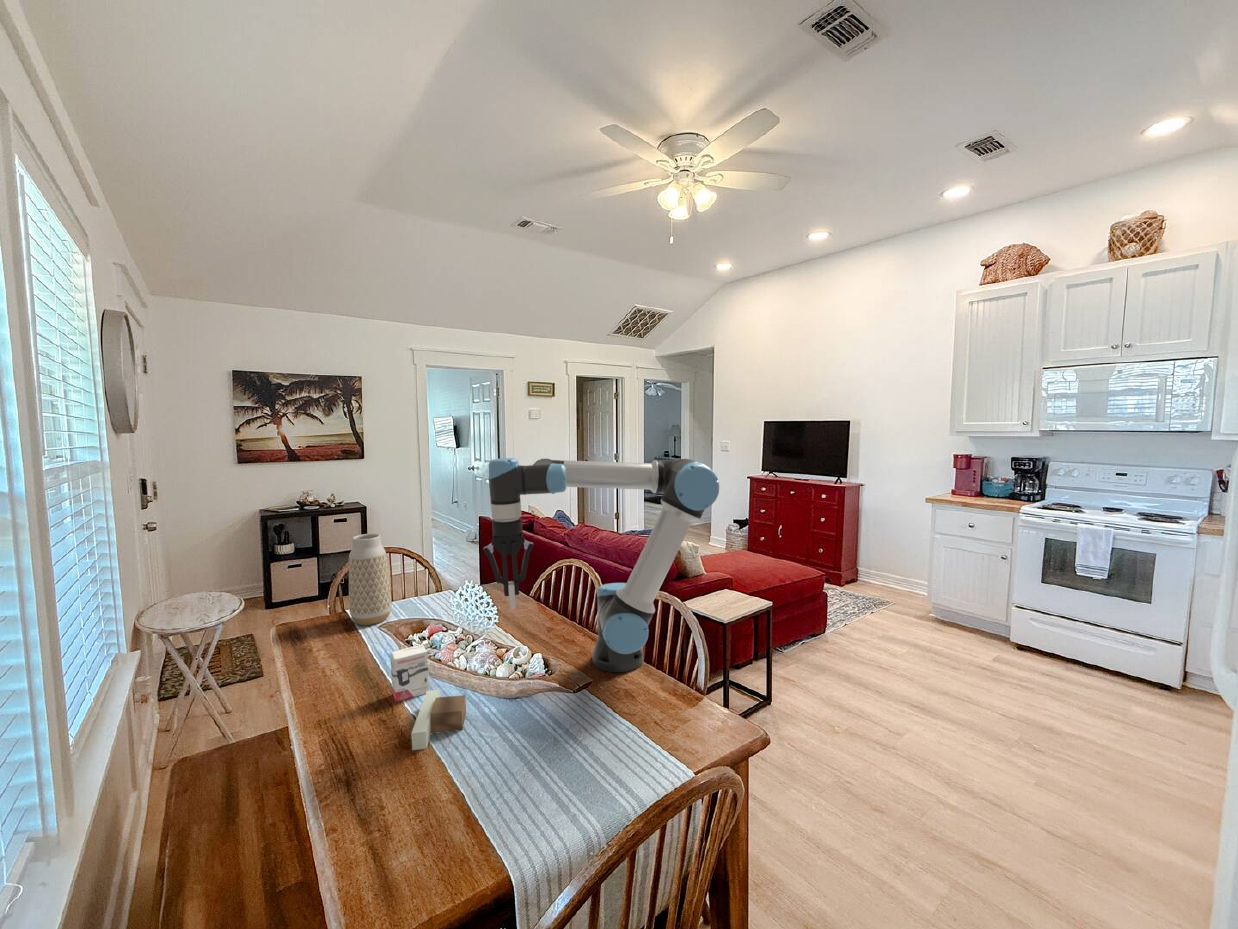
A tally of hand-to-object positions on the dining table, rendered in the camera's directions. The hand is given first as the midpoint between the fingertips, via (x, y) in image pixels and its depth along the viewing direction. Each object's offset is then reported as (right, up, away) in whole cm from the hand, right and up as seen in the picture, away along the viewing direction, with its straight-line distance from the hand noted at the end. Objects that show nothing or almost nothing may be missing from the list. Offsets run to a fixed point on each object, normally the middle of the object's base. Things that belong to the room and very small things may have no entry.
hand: (512, 607), depth 139 cm
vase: (-61, -19, +52) cm, 82 cm away
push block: (-13, -25, -11) cm, 30 cm away
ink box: (-27, -24, +2) cm, 36 cm away
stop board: (-18, -25, -12) cm, 33 cm away
